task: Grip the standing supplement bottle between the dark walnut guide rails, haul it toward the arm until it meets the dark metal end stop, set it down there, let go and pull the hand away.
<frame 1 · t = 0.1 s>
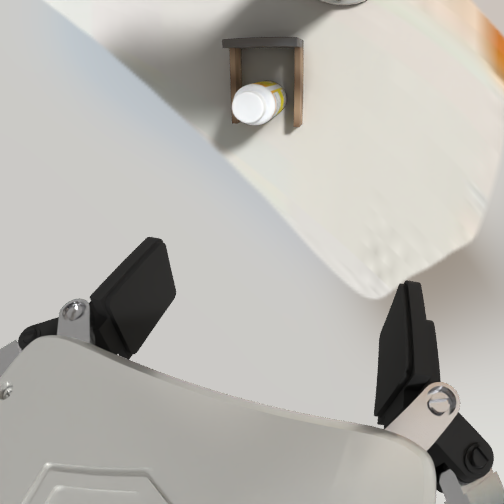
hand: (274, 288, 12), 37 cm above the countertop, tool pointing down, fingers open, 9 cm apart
supplement bottle: (269, 98, 41), on the countertop
guide track: (269, 82, 40), on the countertop
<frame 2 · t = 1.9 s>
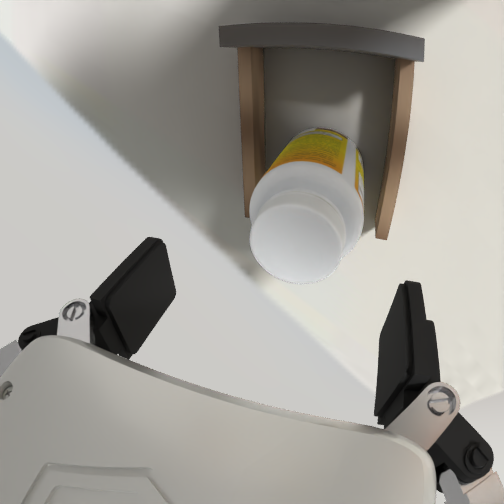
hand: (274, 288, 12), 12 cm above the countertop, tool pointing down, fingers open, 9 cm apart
supplement bottle: (324, 163, 20), on the countertop
guide track: (326, 129, 19), on the countertop
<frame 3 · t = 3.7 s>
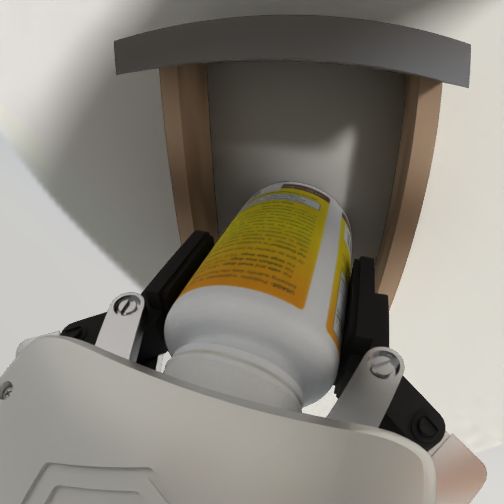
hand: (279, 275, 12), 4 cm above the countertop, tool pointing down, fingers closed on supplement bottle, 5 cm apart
supplement bottle: (297, 228, 15), on the countertop, touching gripper
guide track: (299, 183, 13), on the countertop
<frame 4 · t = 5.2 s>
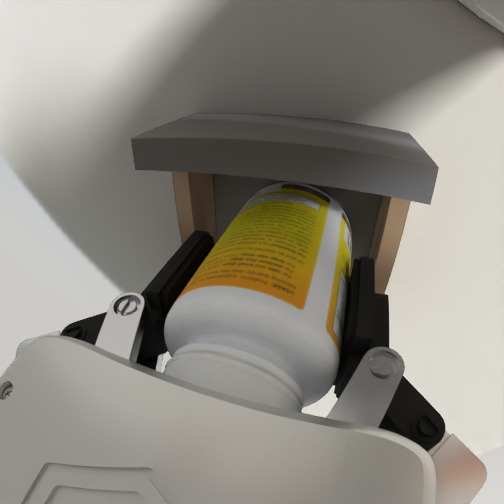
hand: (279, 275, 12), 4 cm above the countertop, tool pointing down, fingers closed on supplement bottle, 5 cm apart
supplement bottle: (297, 229, 15), on the countertop, touching gripper
guide track: (290, 244, 16), on the countertop
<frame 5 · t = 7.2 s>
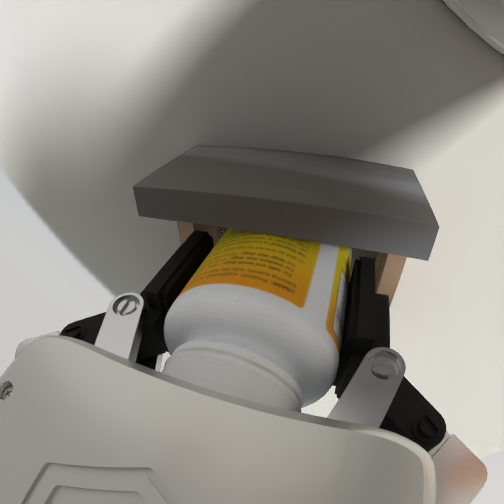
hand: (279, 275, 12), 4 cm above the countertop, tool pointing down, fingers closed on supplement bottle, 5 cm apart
supplement bottle: (297, 230, 15), on the countertop, touching gripper
guide track: (292, 273, 17), on the countertop
when the fingers open (4 cm above the countertop, at t = 7.2 s): supplement bottle stays where it is, on the countertop.
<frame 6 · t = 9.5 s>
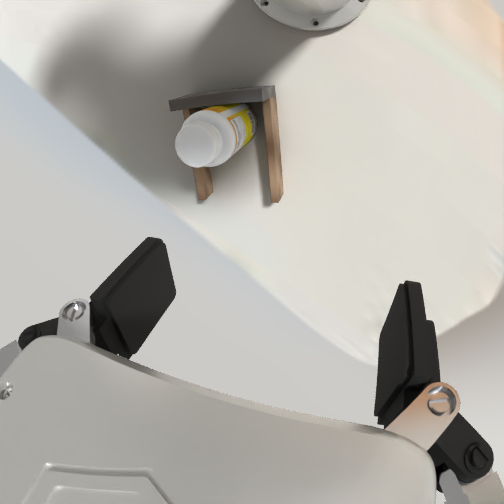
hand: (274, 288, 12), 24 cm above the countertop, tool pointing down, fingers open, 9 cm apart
supplement bottle: (236, 122, 33), on the countertop
guide track: (237, 144, 34), on the countertop
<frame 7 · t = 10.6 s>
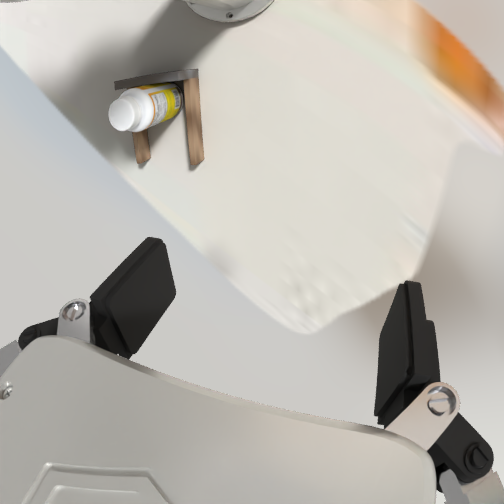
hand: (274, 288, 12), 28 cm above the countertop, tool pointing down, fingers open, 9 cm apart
supplement bottle: (168, 99, 37), on the countertop
guide track: (169, 117, 39), on the countertop
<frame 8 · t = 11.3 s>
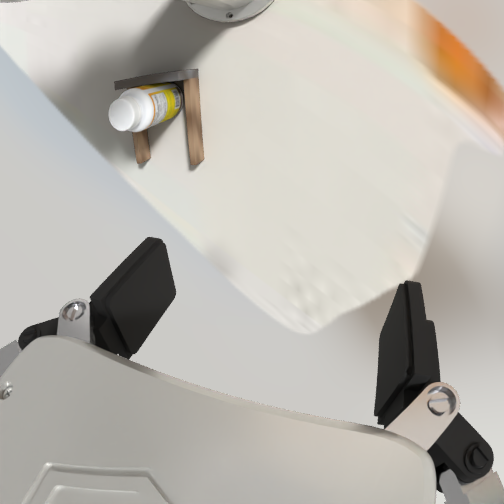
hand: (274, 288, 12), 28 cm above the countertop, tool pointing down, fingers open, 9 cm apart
supplement bottle: (168, 99, 37), on the countertop
guide track: (169, 117, 39), on the countertop
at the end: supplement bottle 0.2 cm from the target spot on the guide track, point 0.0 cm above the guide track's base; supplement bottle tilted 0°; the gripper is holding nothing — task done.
